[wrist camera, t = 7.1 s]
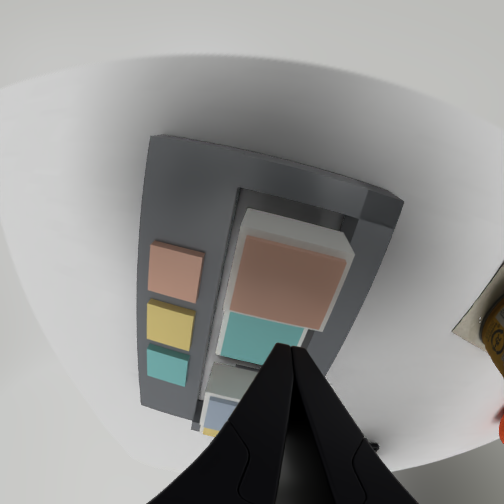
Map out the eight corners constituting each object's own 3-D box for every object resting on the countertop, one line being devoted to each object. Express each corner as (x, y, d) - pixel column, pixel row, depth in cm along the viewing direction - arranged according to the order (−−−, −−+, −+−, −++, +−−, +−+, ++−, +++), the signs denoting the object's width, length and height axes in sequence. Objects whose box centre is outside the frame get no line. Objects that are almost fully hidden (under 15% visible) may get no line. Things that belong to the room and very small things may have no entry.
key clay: (315, 288, 16) (323, 336, 12) (235, 269, 16) (220, 313, 12) (338, 223, 14) (356, 257, 10) (250, 200, 14) (239, 227, 10)
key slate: (269, 396, 20) (266, 442, 16) (210, 383, 20) (198, 427, 16) (285, 362, 18) (284, 412, 14) (217, 347, 18) (204, 395, 14)
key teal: (289, 331, 20) (289, 373, 16) (226, 316, 20) (214, 357, 16) (307, 284, 18) (311, 324, 14) (236, 267, 18) (225, 304, 14)
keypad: (280, 425, 24) (279, 447, 22) (146, 393, 24) (137, 412, 22) (387, 190, 15) (404, 201, 13) (161, 134, 15) (142, 136, 13)
